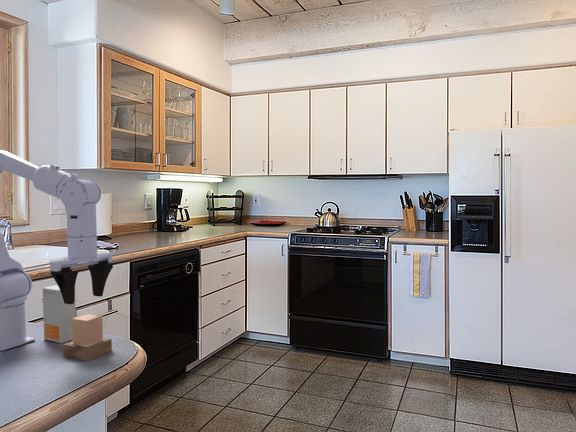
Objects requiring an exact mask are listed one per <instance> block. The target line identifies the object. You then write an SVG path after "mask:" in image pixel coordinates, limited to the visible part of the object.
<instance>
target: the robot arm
mask: <svg viewBox="0 0 576 432" xmlns="http://www.w3.org/2000/svg"><path fill="white" fill-rule="evenodd" d="M60 168H61V167H60V165H57V164H50V165H49V164H46V165H41V166H37V165H35V164H33V163H31V162H30V161H27V160H25V159H23V158H21V157H19V156H18V155H15V154H13V153H11V152H9V151H8V150H2V149H0V175H2V174H3V172H8V173H11V174H13V175H15V176H18V177H21V178H23V179H26V180H28V181H31V182H32V184H33V186H34V188H35V189H36V190H37V191H40V192H43V194H44V193H45V194H47V195H49V196H51V197H54V198H56V199H59V200H60V201H61V202H62V204H63V205H64V209H65V211H64V212H65V213H66V235H67V236H66V237H67V238H66V239H67V257H64V258H59V259H56V260H51V261H49V271H50V276H51V277H52V278H53V279H54V281H55V283H56V285H58V287H59V289H60V291H61V294H62V297H63V301H64V304H74V300H75V301H76V281H77V277H78V274H79V272H78V271H73V269H75V268H79V267H85V266H87V268H88V270H89V273H90V274H89V275H90V277H91V287H92V288H91V289H92V294H93V297H103V295H104V291H105V286H106V283H107V280H108V277H109V274H110V273H111V271H112V269H113V268H114V263H112V262H113V253H112V252H99V253H98V232H97V230H98V229H97V228H98V227H97V204H98V203H99V201H100V200H101V197H102V190H101V187H100V186H99V185H98V183H96V182H95V181H93V180H92V179H88V178H87V179H81V178H79V175H78V174H76V173H71V174H70V173H68V172H66V171H64V170H62V169H60ZM32 288H33V280H32V277H31V276H30V275H29V274H28V272H26V271H25V270H24V267H23V266H22V264H21V262H19V261H17V260H16V259H13V258H12V257H11V256H10V254H9V252H8V249H7V247H6V244H5V241H4V238H3V236H2V233H1V232H0V352H2V351H3V352H4V351H6V350H8V349H12V348H15V347H19V346H21V345H25V344H28V343H31V342H34V341H36V338H35V337H32V336H27V329H26V303H25V302H26V301H27V299H28V297H27V296H28V295H30V294H31V291H32Z"/></svg>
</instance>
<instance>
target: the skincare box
mask: <svg viewBox="0 0 576 432" xmlns="http://www.w3.org/2000/svg"><path fill="white" fill-rule="evenodd" d="M42 309H43V311H42V313H43V315H42V317H43V339H44V340H48V341H51V342H55V343H59V344H64V343H67V342H70V341H73V340H72V339H73V328H72V319H73V318H76V317H77V315H76V314H77V313H76V311H77V310H76V309H77V308H76V299H75V300H74V304H64V301H63V297H62V294H61V291H60V289H59V287H58V285H57V284H56V285H50V286H45V287H42ZM69 340H70V341H69Z"/></svg>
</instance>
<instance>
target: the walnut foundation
mask: <svg viewBox="0 0 576 432" xmlns="http://www.w3.org/2000/svg"><path fill="white" fill-rule="evenodd" d="M112 343H113V342H112V338H110V337H109V338H107V337H103V340H100V341H98V342H95V343H92V344H90V345H82V344H76V343H73V340H70V341H67V342H65V343H62V352H63V355H62V356H63V357H64V358H69V359H74V360H75V359H76V360H78V361H79V360H80V361H86V362H88V361H91V360H92V359H95V358H97V357H100V356H102V355H104V354H107V353H109V352H112V351H113V347H112V345H113V344H112ZM90 359H91V360H90Z"/></svg>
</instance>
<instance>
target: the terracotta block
mask: <svg viewBox="0 0 576 432" xmlns="http://www.w3.org/2000/svg"><path fill="white" fill-rule="evenodd" d="M72 328H73V340H72V341H73V343H76V344H82V345H90V344H92V343H95V342H98V341H100V340H103V338H104V336H103V335H104V334H103V331H104V330H103V315H99V314H91V313H87V314H84V315H81V316H76V318H73V319H72Z"/></svg>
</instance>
